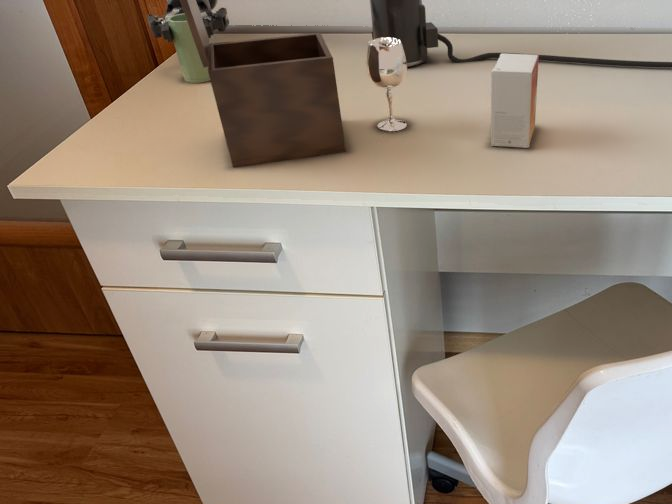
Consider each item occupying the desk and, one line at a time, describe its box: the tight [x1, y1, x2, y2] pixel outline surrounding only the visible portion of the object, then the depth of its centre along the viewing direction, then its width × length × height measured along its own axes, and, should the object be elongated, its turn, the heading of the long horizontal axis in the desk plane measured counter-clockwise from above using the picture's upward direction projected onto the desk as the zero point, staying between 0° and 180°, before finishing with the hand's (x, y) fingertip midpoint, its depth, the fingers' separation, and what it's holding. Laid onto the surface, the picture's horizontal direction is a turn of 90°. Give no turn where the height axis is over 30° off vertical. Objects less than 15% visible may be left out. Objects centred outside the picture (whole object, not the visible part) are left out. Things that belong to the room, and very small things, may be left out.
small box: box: [490, 52, 540, 149], centre depth 95 cm, size 8×6×10 cm
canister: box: [167, 13, 211, 84], centre depth 117 cm, size 6×6×10 cm
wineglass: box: [365, 37, 408, 132], centre depth 98 cm, size 6×6×12 cm
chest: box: [208, 32, 347, 168], centre depth 94 cm, size 16×12×13 cm
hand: (188, 33), depth 113 cm, fingers closed on canister, 5 cm apart
